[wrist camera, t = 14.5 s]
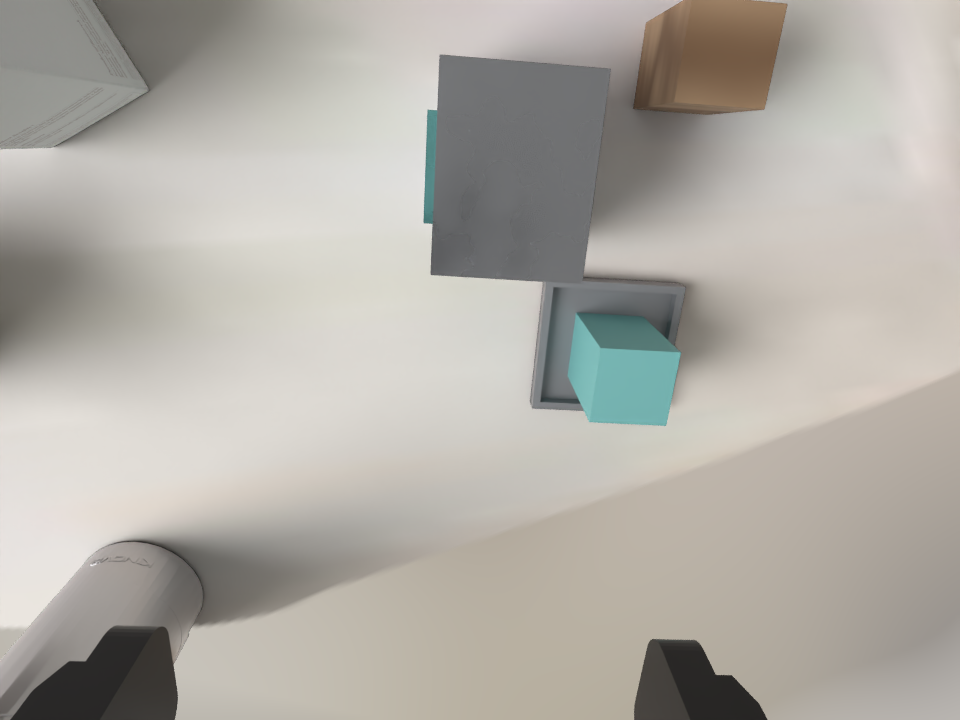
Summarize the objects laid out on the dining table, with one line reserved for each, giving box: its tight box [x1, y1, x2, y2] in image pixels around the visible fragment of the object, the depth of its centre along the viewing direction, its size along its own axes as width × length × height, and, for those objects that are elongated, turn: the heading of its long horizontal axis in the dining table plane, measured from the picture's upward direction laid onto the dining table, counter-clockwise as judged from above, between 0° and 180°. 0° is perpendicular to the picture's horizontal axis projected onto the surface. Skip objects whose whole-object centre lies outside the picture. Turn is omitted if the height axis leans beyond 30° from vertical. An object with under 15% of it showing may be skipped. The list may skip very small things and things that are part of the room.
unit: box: [424, 55, 611, 284], centre depth 31 cm, size 9×8×11 cm
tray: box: [530, 277, 686, 411], centre depth 40 cm, size 9×9×1 cm
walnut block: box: [633, 0, 787, 115], centre depth 31 cm, size 4×4×7 cm
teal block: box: [568, 313, 681, 426], centre depth 36 cm, size 4×4×7 cm
